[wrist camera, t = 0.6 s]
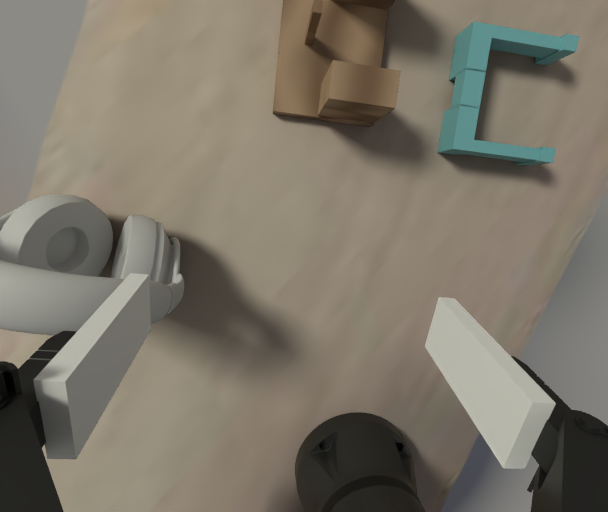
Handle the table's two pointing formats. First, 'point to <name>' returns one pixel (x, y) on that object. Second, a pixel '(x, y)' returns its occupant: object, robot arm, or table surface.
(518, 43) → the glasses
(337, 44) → the stand
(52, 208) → the headphones
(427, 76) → the table surface
